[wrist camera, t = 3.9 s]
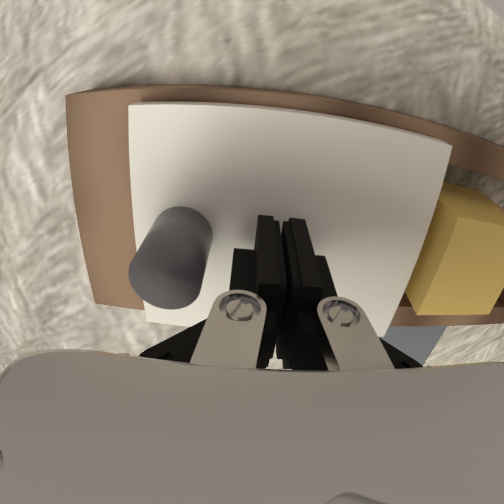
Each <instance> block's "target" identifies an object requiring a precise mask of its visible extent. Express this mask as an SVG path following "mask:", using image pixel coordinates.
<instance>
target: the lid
mask: <svg viewBox="0 0 504 504" xmlns="http://www.w3.org/2000/svg"><path fill="white" fill-rule="evenodd" d="M128 124H129V162H130V181H131V197H132V210H133V221H134V232H135V241H136V250H137V252H136V254H135V256H134V258H133V259H132V261H131V263H130V266H129V270H128V276H129V281H130V284H131V286H132V288H133V290H134V291H135V292H136V294H137V295H138V296H139V297H140V298H141V299H143V302H144V308H145V314H146V320H147V322H155V323H163V324H171V325H180V326H189V327H191V326H193V325H195V324H197V323H199V322H201V321H203V320H205V319H206V318H208V315H209V312H210V310H211V307H212V305H213V302H214V301H215V299H216V298H217V297H218V296H219V295H220V294H222V293H224V292H227V291H229V287H230V278H231V269H232V260H233V251H234V248H240V249H252V250H254V245H255V236H256V227H257V218H258V215H268V216H273V217H274V220H279V224H280V232H281V230H282V224H283V221H288V220H289V218H299V219H305V221H306V224H307V228H308V231H309V235H310V238H311V242H312V245H313V249H314V253H315V255H323V256H325V257H326V260H327V263H328V266H329V269H330V273H331V276H332V279H333V282H334V286H335V289H336V292H337V296H338V297H343V298H347V299H350V300H352V301H354V302H355V303H357V304H358V305H359V306H360V307H361V308H362V309H363V310H364V312H365V314H366V316H367V317H368V319H369V321H370V323H371V325H372V326H373V328H374V330H375V332H376V334H377V336H378V337H384V335H385V333H386V331H387V329H388V327H389V325H390V322H391V320H392V318H393V316H394V314H395V312H396V309H397V307H398V305H399V303H400V300H401V298H402V296H403V293H404V291H405V289H406V286H407V284H408V282H409V279H410V277H411V274H412V272H413V269H414V267H415V264H416V262H417V259H418V256H419V254H420V251H421V248H422V246H423V243H424V240H425V237H426V234H427V231H428V229H429V226H430V223H431V220H432V217H433V214H434V210H435V207H436V204H437V201H438V198H439V194H440V191H441V187H442V184H443V180H444V177H445V173H446V169H447V166H448V162H449V158H450V154H451V150H452V145H450V144H448V143H446V142H444V141H442V140H440V139H437V138H433V137H430V136H426V135H422V134H418V133H415V132H411V131H407V130H403V129H399V128H394V127H390V126H386V125H381V124H377V123H372V122H367V121H362V120H357V119H352V118H346V117H341V116H335V115H329V114H323V113H316V112H309V111H302V110H294V109H286V108H277V107H268V106H257V105H245V104H231V103H213V102H137V103H134V104H131V105H128Z"/></svg>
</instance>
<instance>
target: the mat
mask: <svg viewBox="0 0 504 504" xmlns="http://www.w3.org/2000/svg"><path fill="white" fill-rule="evenodd" d="M446 327H447V326H389V327H388V329H387V331H386V333H385V335H384V337H379V338H381V339H383V340H384V341H386V342H387V343H389V344H391V345H392V346H394V347H395V348H397V349H398V350H400V351H402V352H403V353H405V354H406V355H408V356H410V357H411V358H413V359H414V360H416V361H417V362H419V363H420V364H421V365H422V366H423V364H424V363H425V361H426V360H427V358H428V357H429V355H430V353H431V352H432V350H433V349H434V347H435V345H436V344H437V342H438V340H439V339H440V337H441V335H442V334H443V332H444V330H445V329H446Z"/></svg>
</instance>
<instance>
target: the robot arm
mask: <svg viewBox="0 0 504 504" xmlns="http://www.w3.org/2000/svg"><path fill="white" fill-rule="evenodd" d="M275 344H276V356H277V359H282V361H283V369H292V370H278V369H265V368H266V367H268V364H269V359H272V358H273V353H274V349H275ZM0 504H504V362H480V363H468V364H456V365H446V366H433V367H432V366H427V367H423V366H422V365H421V364H420V363H419V362H417V361H416V360H414V359H413V358H411V357H410V356H408V355H406V354H405V353H403V352H402V351H400V350H398V349H397V348H395V347H394V346H392V345H391V344H389V343H387V342H386V341H384V340H383V339H381V338H379V337H378V336H377V334H376V332H375V330H374V328H373V326H372V325H371V323H370V321H369V319H368V317H367V316H366V314H365V312H364V310H363V309H362V308H361V307H360V306H359V305H358V304H357V303H355V302H354V301H352V300H350V299H347V298H343V297H338V296H337V292H336V289H335V286H334V282H333V279H332V276H331V273H330V269H329V266H328V263H327V260H326V257H325V256H323V255H315V253H314V249H313V245H312V242H311V238H310V235H309V231H308V228H307V224H306V221H305V219H299V218H289V220H288V221H283V224H282V230H281V232H280V224H279V220H274V217H273V216H268V215H258V218H257V227H256V236H255V245H254V250H252V249H240V248H234V251H233V260H232V269H231V278H230V287H229V291H227V292H224V293H222V294H220V295H219V296H218V297H217V298H216V299H215V301H214V302H213V305H212V307H211V310H210V312H209V315H208V318H206V319H205V320H203V321H201V322H199V323H197V324H195V325H193V326H191V327H189V328H187V329H186V330H184V331H182V332H180V333H178V334H176V335H174V336H172V337H170V338H168V339H166V340H164V341H162V342H160V343H158V344H157V345H155V346H153V347H151V348H149V349H147V350H145V351H144V352H142V353H141V354H140V355H139V356H131V355H130V354H129V353H118V354H115V353H108V352H101V351H94V350H81V349H54V350H46V351H38V352H34V353H30V354H27V355H24V356H22V357H20V358H18V359H16V360H15V361H13V362H12V363H11V364H10V365H9V366H8V367H7V368H6V369H5V370H4V371H3V372H2V373H1V375H0Z"/></svg>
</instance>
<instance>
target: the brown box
mask: <svg viewBox="0 0 504 504" xmlns="http://www.w3.org/2000/svg"><path fill="white" fill-rule="evenodd" d="M137 102H213V103H231V104H245V105H257V106H268V107H277V108H286V109H294V110H302V111H309V112H316V113H323V114H329V115H335V116H341V117H346V118H352V119H357V120H362V121H367V122H372V123H377V124H381V125H386V126H390V127H394V128H399V129H403V130H407V131H411V132H415V133H418V134H422V135H426V136H430V137H433V138H437V139H440V140H442V141H444V142H446V143H448V144H450V145H452V150H451V154H450V158H449V162H448V164H450V165H454V166H458V167H461V168H465V169H468V170H472V171H475V172H478V173H482V174H485V175H488V176H491V177H494V178H497V179H500V180H503V181H504V147H502V146H500V145H497V144H495V143H492V142H490V141H487V140H484V139H482V138H479V137H476V136H474V135H471V134H468V133H465V132H462V131H459V130H456V129H454V128H450V127H447V126H444V125H441V124H438V123H435V122H431V121H428V120H425V119H421V118H418V117H414V116H410V115H407V114H403V113H399V112H395V111H391V110H387V109H383V108H378V107H374V106H369V105H365V104H360V103H355V102H350V101H345V100H339V99H334V98H328V97H322V96H315V95H309V94H302V93H294V92H286V91H278V90H268V89H258V88H246V87H231V86H210V85H147V86H126V87H112V88H100V89H91V90H86V91H82V92H77V93H73V94H69V95H66V120H67V137H68V150H69V161H70V171H71V179H72V187H73V195H74V202H75V208H76V215H77V221H78V226H79V232H80V237H81V243H82V248H83V252H84V257H85V262H86V266H87V271H88V275H89V279H90V283H91V288H92V292H93V295H94V299H95V303H97V304H104V305H110V306H117V307H124V308H132V309H139V310H145V308H144V302H143V299H141V298H140V297H139V296H138V295H137V294H136V292H135V291H134V290H133V288H132V286H131V284H130V281H129V276H128V270H129V266H130V263H131V261H132V259H133V258H134V256H135V254H136V252H137V250H136V241H135V232H134V221H133V210H132V197H131V181H130V162H129V124H128V105H131V104H134V103H137ZM498 323H504V288H503V290H502V292H501V293H500V295H499V297H498V299H497V301H496V303H495V304H494V306H493V308H492V310H491V311H490V313H489V314H483V315H416V313H415V311H414V309H413V307H412V305H411V303H410V301H409V299H408V297H407V295H406V293H405V291H404V293H403V296H402V298H401V300H400V303H399V305H398V307H397V309H396V312H395V314H394V316H393V318H392V320H391V322H390V325H389V326H455V325H480V324H498Z"/></svg>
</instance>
